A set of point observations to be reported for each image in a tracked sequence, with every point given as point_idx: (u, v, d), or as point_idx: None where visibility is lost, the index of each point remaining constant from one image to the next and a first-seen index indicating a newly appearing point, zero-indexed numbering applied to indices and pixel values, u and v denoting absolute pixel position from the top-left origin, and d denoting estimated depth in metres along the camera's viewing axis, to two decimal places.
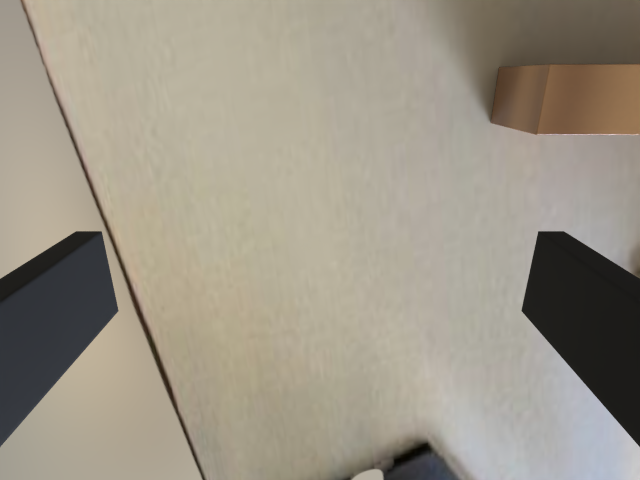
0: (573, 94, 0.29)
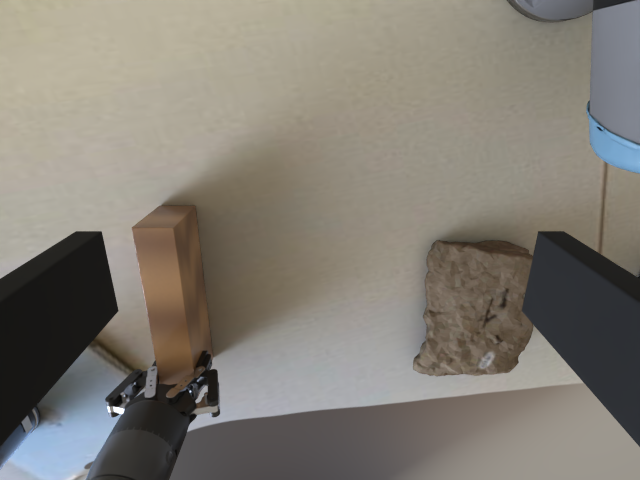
0: (158, 244, 0.47)
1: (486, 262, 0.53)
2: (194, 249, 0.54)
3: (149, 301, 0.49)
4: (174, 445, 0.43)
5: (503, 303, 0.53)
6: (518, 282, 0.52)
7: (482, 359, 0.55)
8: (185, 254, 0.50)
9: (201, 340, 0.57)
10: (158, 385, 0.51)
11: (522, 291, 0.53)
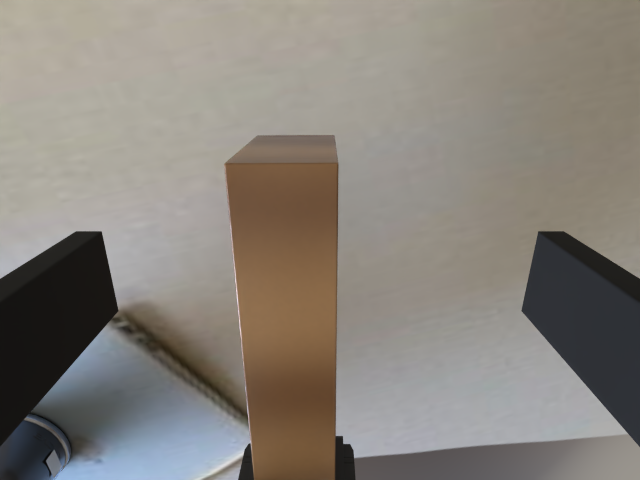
0: (291, 211, 0.18)
1: None
2: None
3: (253, 352, 0.20)
4: None
5: None
6: None
7: None
8: None
9: None
10: None
11: None
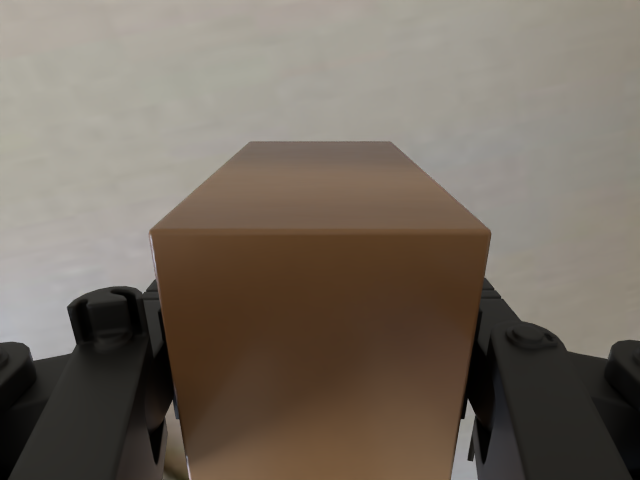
0: (344, 356, 0.06)
1: None
2: None
3: None
4: None
5: None
6: None
7: None
8: None
9: None
10: None
11: None
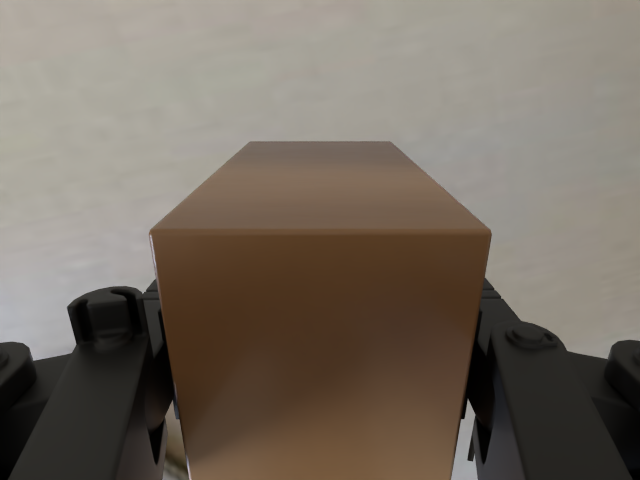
0: (344, 356, 0.06)
1: None
2: None
3: None
4: None
5: None
6: None
7: None
8: None
9: None
10: None
11: None
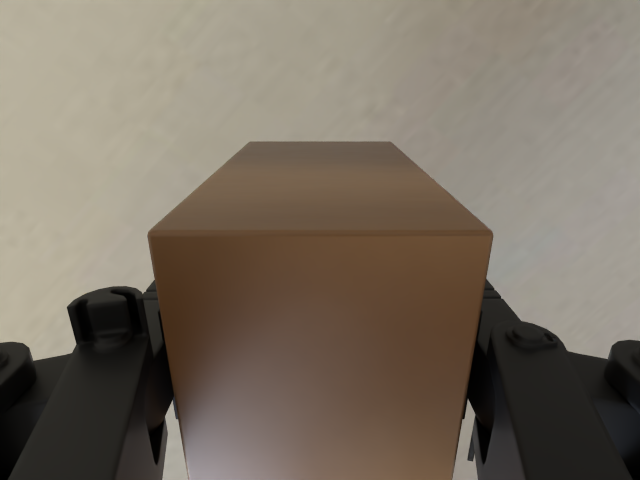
0: (345, 359, 0.06)
1: None
2: None
3: None
4: None
5: None
6: None
7: None
8: None
9: None
10: None
11: None
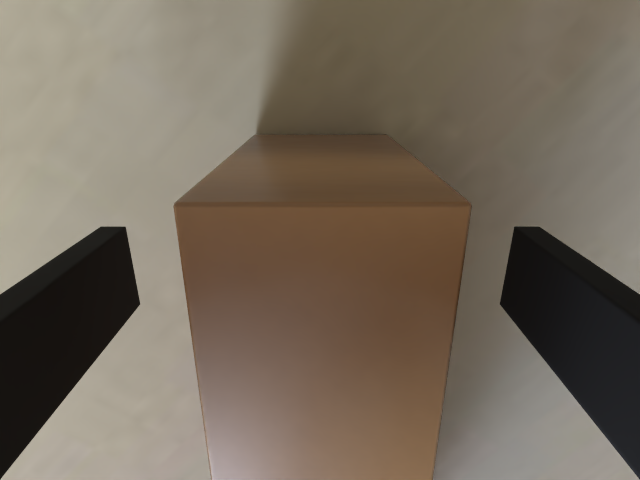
0: (343, 317, 0.07)
1: None
2: None
3: None
4: None
5: None
6: None
7: None
8: None
9: None
10: None
11: None
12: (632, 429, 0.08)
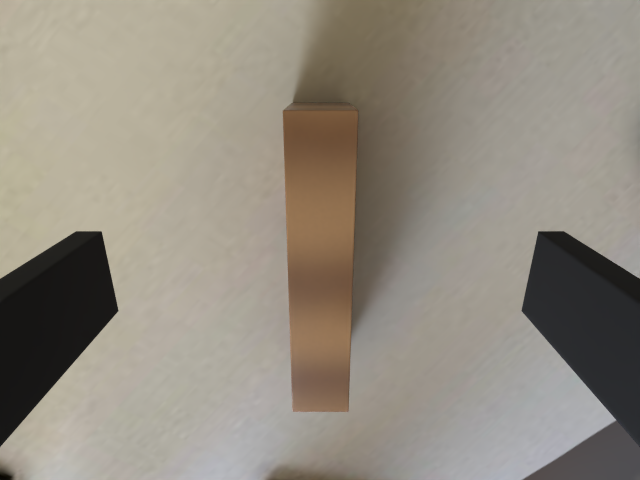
0: (326, 143, 0.26)
1: None
2: None
3: (295, 249, 0.29)
4: None
5: None
6: None
7: None
8: None
9: None
10: None
11: None
12: None
